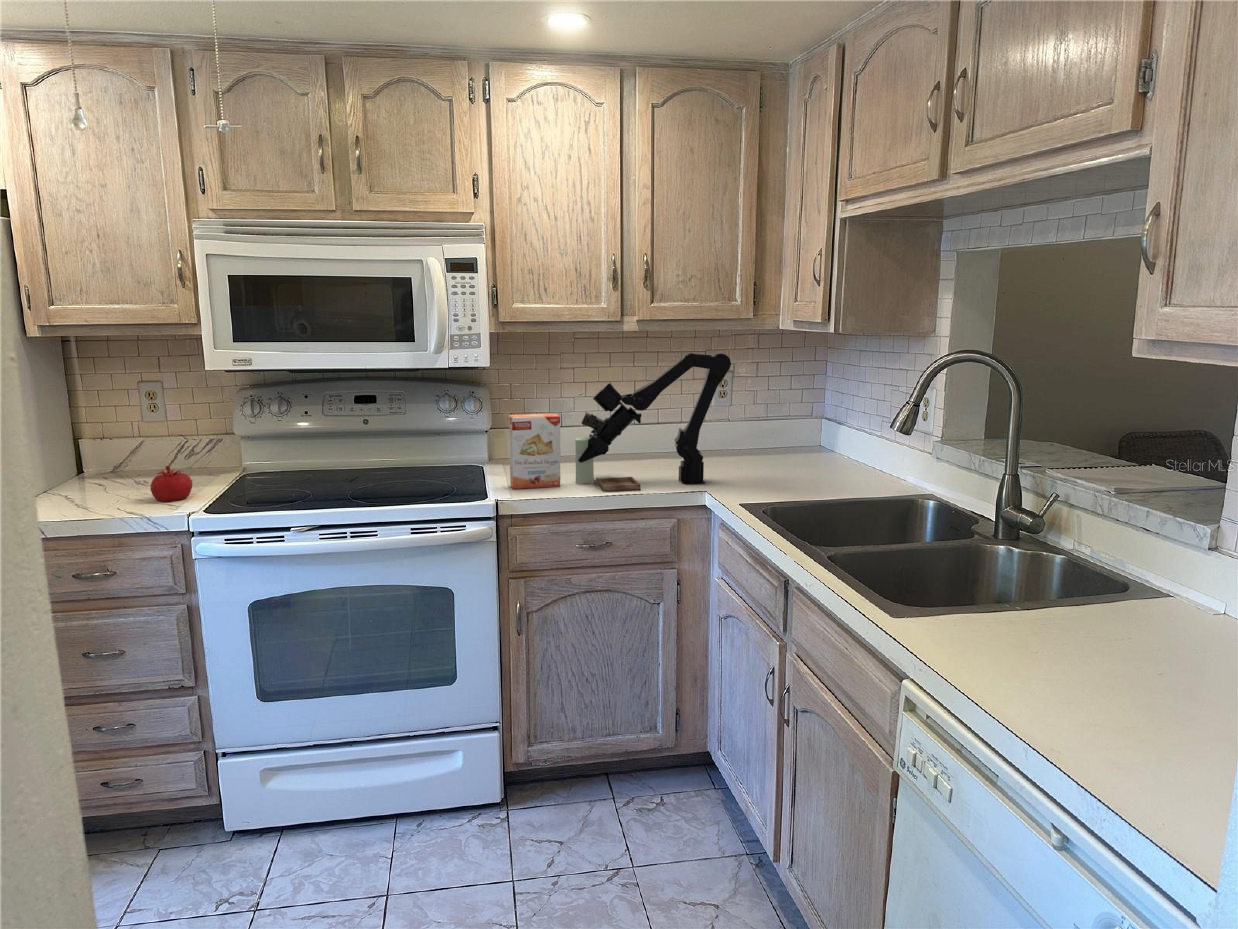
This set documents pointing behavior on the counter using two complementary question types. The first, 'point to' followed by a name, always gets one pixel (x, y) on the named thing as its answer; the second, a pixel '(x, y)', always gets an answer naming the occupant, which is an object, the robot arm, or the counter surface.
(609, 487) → the walnut tray
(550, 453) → the cracker box
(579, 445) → the sage wooden block
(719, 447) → the counter surface
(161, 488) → the red tomato
